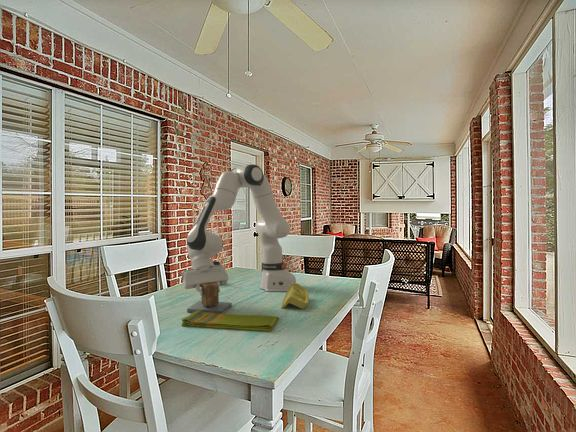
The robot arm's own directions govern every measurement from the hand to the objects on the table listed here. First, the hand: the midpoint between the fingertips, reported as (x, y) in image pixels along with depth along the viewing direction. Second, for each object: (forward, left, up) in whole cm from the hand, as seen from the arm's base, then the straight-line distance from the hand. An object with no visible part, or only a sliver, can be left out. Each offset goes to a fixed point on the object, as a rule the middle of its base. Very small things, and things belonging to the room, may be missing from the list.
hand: (210, 293), depth 150 cm
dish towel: (-15, +14, -8) cm, 21 cm away
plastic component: (-36, -16, -8) cm, 40 cm away
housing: (0, 0, -5) cm, 5 cm away
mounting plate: (0, 0, -7) cm, 7 cm away
